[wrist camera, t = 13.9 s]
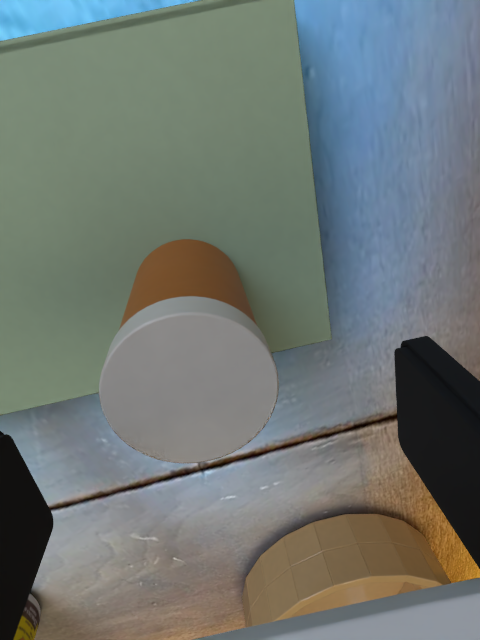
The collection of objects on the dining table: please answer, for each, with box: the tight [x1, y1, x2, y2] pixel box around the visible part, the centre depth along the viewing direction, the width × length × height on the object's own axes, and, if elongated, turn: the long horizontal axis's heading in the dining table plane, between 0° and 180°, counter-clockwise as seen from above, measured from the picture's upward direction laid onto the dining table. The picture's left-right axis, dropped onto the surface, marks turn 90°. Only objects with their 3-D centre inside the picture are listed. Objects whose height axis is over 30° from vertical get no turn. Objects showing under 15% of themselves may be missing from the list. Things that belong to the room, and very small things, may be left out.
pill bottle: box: [99, 239, 279, 463], centre depth 15 cm, size 5×5×8 cm
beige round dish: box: [242, 514, 451, 628], centre depth 30 cm, size 14×14×5 cm
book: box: [0, 0, 332, 415], centre depth 18 cm, size 20×14×2 cm
